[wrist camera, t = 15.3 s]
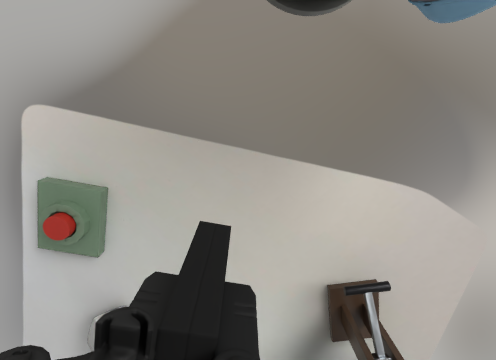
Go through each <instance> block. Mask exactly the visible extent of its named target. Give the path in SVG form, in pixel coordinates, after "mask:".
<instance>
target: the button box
mask: <svg viewBox="0 0 496 360" xmlns="http://www.w3.org/2000/svg"><path fill="white" fill-rule="evenodd" d="M107 195H108V188H106V187H100V186H95V185H89V184H83V183H77V182H72V181H66V180H60V179H54V178H49V177H46V178H43V179H41V180H38V248H42V249H48V250H54V251H61V252H67V253H73V254H79V255H86V256H92V257H99V256H100V255H101V254H102V253H103V252H104V243H105V227H106V211H107ZM61 212H62V213H66V214H69V215H70V216H71V217H72V218H73V219H74V221H75V223H76V229H75V231H74V232H73V233H72V234H71V235H69V236H68V237H67V238H65V239H63V240H53V239H51V238H49V237H48V236H47V235H46V234H45V233H44V230H43V223H44V221H45V220H46V219H47V218H49V217H50V216H52V215H54V214H56V213H61Z"/></svg>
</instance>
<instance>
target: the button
mask: <svg viewBox="0 0 496 360" xmlns="http://www.w3.org/2000/svg"><path fill="white" fill-rule="evenodd" d="M75 229H76V223H75V221H74V219H73V218H72V217H71V216H70V215H69V214H66V213H62V212H61V213H56V214H54V215H52V216H50V217H49V218H47V219H46V220H45V221H44V223H43V230H44V233H45V234H46V235H47V236H48V237H49V238H51V239H53V240H63V239H65V238H67V237H68V236H69V235H71V234H72V233H73V232H74V231H75Z"/></svg>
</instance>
